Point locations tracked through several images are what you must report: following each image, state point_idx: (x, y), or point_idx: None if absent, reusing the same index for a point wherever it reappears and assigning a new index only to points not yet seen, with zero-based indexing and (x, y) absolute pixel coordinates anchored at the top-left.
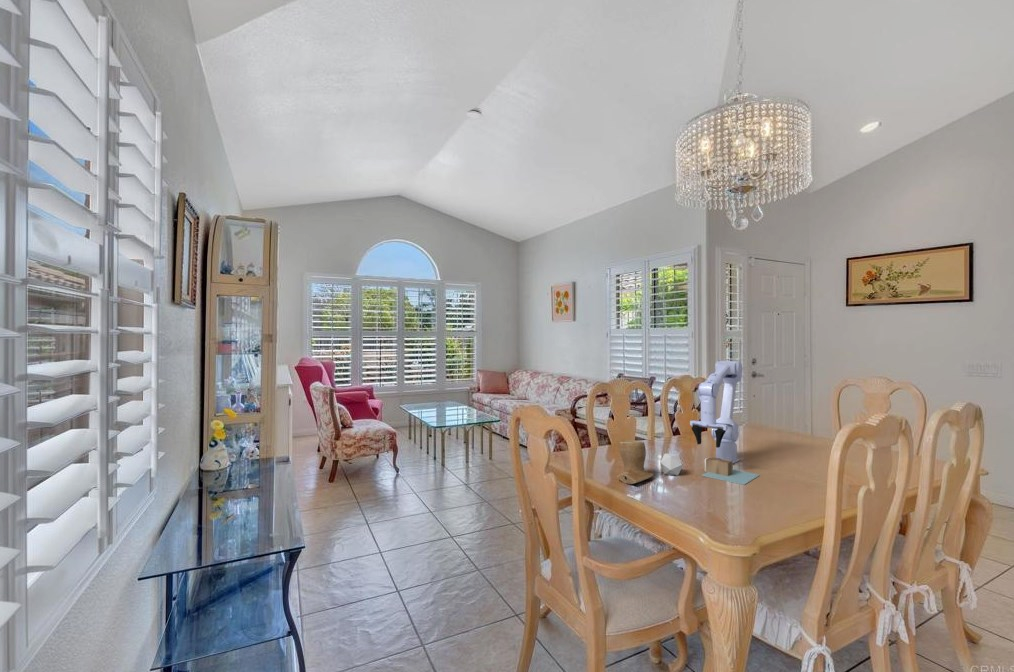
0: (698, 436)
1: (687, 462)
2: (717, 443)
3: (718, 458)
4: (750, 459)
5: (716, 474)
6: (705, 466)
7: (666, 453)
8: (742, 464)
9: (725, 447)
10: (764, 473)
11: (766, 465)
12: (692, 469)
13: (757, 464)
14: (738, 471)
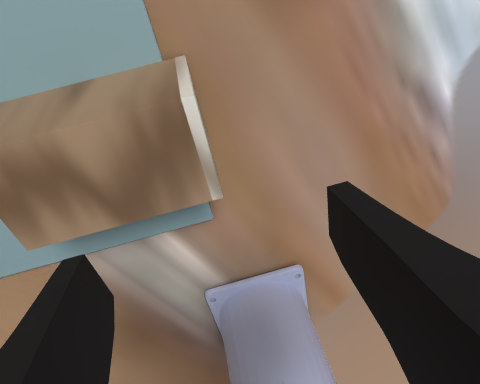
0: (394, 274)
1: (391, 144)
2: (37, 305)
3: (143, 212)
4: (214, 379)
5: (72, 63)
6: (180, 70)
7: None
8: (182, 327)
9: (255, 370)
10: (8, 317)
11: (120, 379)
12: (287, 31)
13: (149, 365)
14: (77, 239)
